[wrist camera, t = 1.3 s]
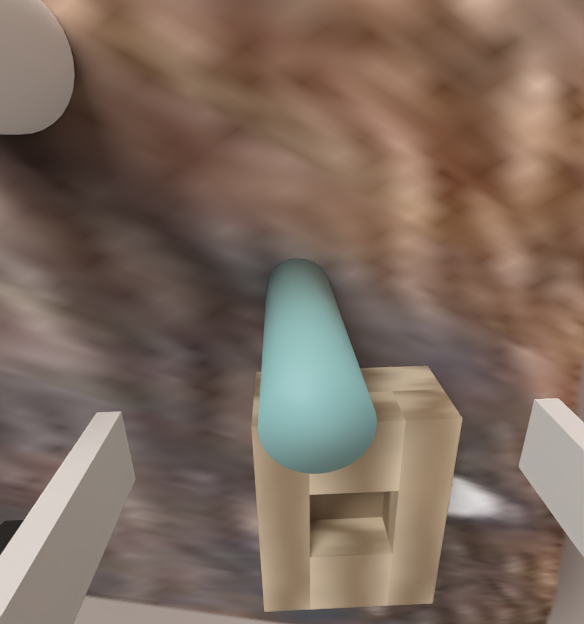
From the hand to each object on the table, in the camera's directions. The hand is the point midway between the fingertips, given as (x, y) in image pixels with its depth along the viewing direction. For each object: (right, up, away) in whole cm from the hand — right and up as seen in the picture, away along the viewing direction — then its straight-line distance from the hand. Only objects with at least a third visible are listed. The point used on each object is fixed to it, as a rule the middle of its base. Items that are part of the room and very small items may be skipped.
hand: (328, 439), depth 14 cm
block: (+2, -7, +19) cm, 20 cm away
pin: (-1, +6, +13) cm, 15 cm away
